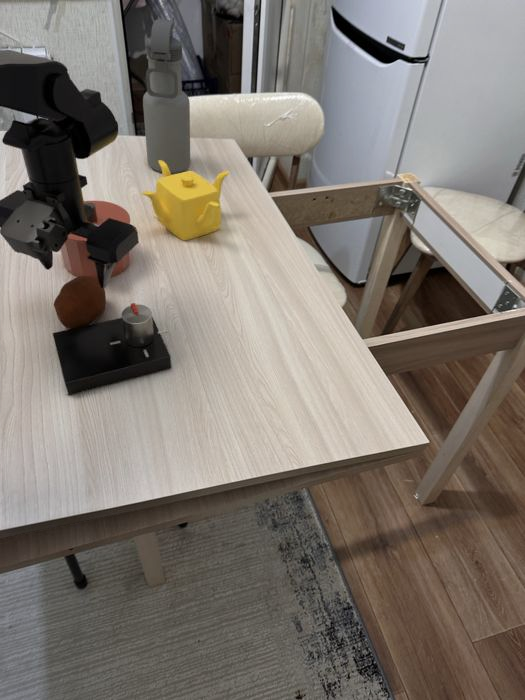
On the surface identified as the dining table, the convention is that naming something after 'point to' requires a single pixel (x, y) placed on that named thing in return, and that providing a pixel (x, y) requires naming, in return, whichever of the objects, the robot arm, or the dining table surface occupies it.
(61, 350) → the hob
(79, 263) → the pot
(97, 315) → the potato
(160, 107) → the water bottle
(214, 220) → the teapot
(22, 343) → the dining table surface
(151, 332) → the hob knob
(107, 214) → the pot lid
